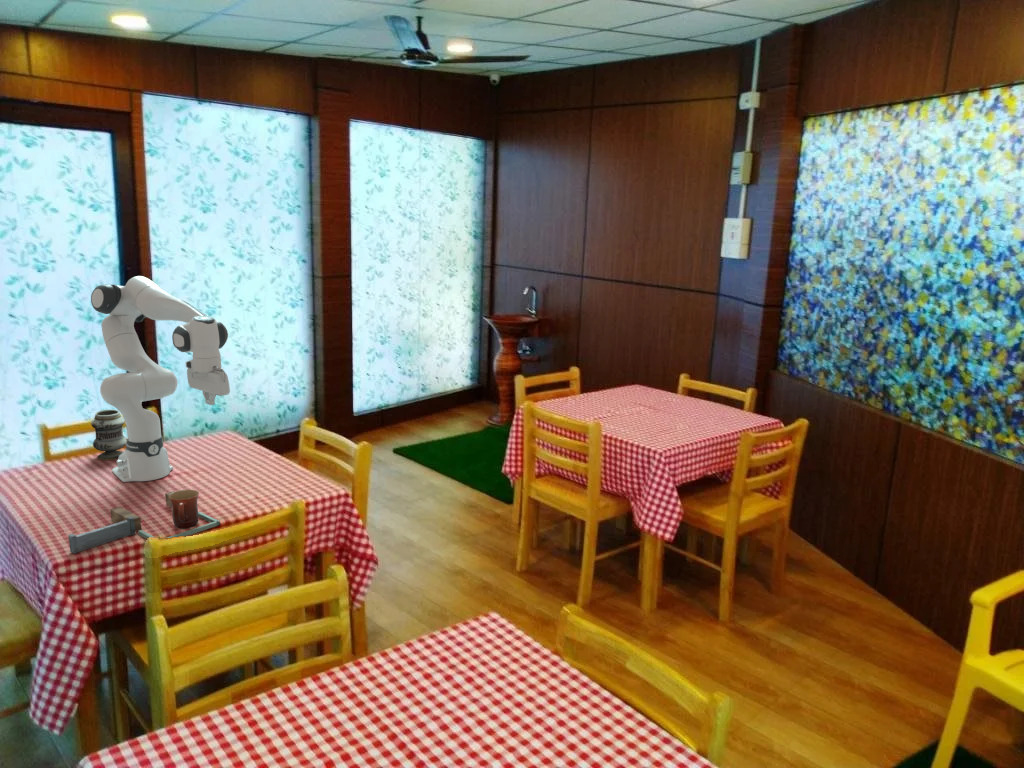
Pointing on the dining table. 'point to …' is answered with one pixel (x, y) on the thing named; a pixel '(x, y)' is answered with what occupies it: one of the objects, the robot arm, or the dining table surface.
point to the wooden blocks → (131, 514)
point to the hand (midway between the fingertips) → (210, 404)
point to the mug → (184, 508)
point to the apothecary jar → (108, 434)
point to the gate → (101, 535)
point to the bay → (192, 531)
